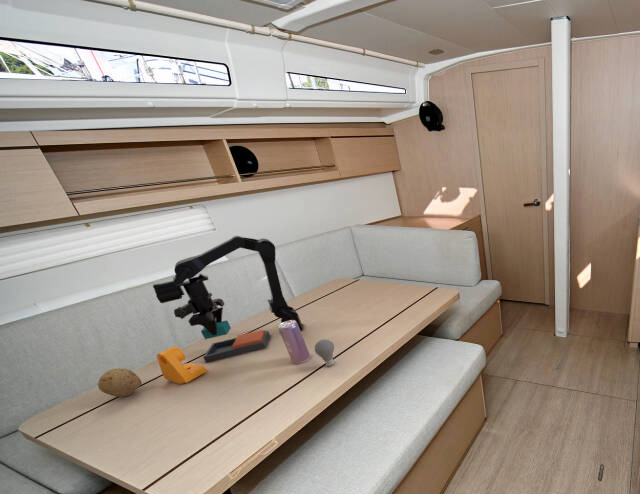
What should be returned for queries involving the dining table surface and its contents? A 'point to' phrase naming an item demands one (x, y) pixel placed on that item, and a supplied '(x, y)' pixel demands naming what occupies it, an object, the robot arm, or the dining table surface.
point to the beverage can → (294, 341)
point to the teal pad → (221, 330)
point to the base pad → (248, 339)
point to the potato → (119, 382)
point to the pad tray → (226, 349)
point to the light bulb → (325, 351)
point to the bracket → (178, 366)
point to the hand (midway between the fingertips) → (217, 331)
